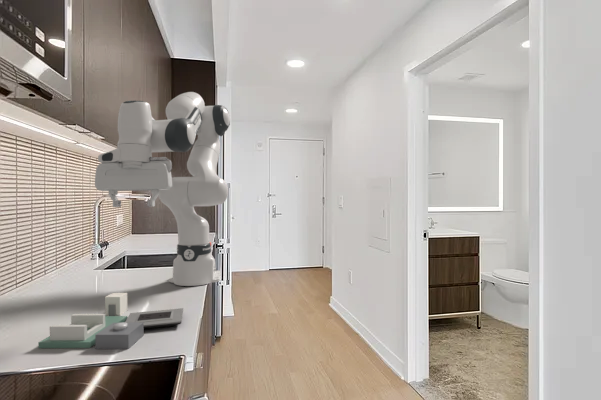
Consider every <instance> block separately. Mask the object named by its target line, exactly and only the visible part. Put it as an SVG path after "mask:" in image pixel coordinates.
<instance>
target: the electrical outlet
mask: <svg viewBox="0 0 601 400" xmlns="http://www.w3.org/2000/svg"><path fill="white" fill-rule="evenodd" d="M183 314H184V307H181V308H172V309H171V308H170V309H160V310H159V309H158V310H150V311H136V312H130V313H129V315H127V320H126V321H125V323H133V322H143V327H144V329H152V328H159V327H170V326H179V325H181V324H182V322H183Z"/></svg>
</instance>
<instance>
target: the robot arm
mask: <svg viewBox="0 0 601 400" xmlns="http://www.w3.org/2000/svg"><path fill="white" fill-rule="evenodd" d="M205 104H206V103H205V101H204V99H203V97H202V96H201V95H200V94H199V93H197V92H196V91H195V92H194V91H187V92H183V93H180V94H178V95H176V96H175V97H174V98H172V99H171V100H170V101H169V102H168V103H167V105H166V106H165V107H166V108H165V116H166V118H167V119H158V120H156V119H155V118H154V117H153V115H152V110H151V109H152V108H151V104H150V103H149V102H147V101H144V100H136V99H135V100H127V101H123V102H122V103H121V104H120V106H119V109H118V117H117V134H118V141H117V147H116V148H115V149H113V150H110V151H107V152H104V153H101V154H99V155H98V157H97V161H98V162H99V164H98V165H97V166H96V169H95V174H94V175H95V176H94V187H95V188H96V190H98V191H101V192H108V195H109V198H110V199H111V201H112V207H113V208H121V207H122V200H119V199H118V197H117V195H118V192H120V191H121V192H126V191H127V192H128V191H130V192H132V191H135V192H136V191H137V192H138V191H150V194H152V196H151V197H150V199H147V200H146V203H147V204H146V207H150V208H151V207H152V208H153V207H155V206H156V200H157V198H158V199H159V200H160V202H161V203H162V204H163V205H164V206H165V207H167V208H168V209H169V210H170V211H171V213H172V215H173V216H174V219H175V222H176V226H177V240H178V242H177V245H176V254H177V256H176V257H175V258H174V259H173V263H172V277H170V278H169V279H168V282H169V283H171V284H174V285H176V286H183V287H184V286H185V287H193V286H194V287H195V286H203V285H207V284H211V283H218V282H219V283H220V282H221V278H222V277H221V276H222V271H221V270H217V268H216V259H215V258H214V256H213V255H212V242H211V241H210V225H209V222H208V220H207V219H206V218H205V217H202V216H201V215H199V214H197V212H196V210H195V207H213V206H219V205H222V204H224V203H225V202H226V200H227V198H228V196H229V187H228V184H227V183H226V181H225V180H224V179H223V178H222V177H220V176H219V175H218V174H217V166H218V161H219V159H220V153H221V152H220V151H221V142H220V139H219V137H223V136H224V135H225V134H226V133H225V132H226V131H228V129H229V127H230V125H231V115H230V112H229V111H228V108H227V107H225V105H222V104H221V105H220V104H214V105H205ZM196 136H197V139H196ZM191 148H192V149H191ZM189 151H190V154H189V156H188V159H187V161H186V169H187V171H188V173H189V174H190V175H191V176H174V177H172V170H173V162H172V160H171V159H169V158H168V157H166V156H160V157H158V156H153V153H168V152H169V153H170V152H173V153H174V152H176V153H187V152H189Z"/></svg>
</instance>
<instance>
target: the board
mask: <svg viewBox="0 0 601 400" xmlns="http://www.w3.org/2000/svg"><path fill="white" fill-rule="evenodd" d="M127 318H128V315H116V316H109V315H107V316H105V313H73V314H71V315H70V322H71V323H70V324H52V325H50V326H49V336H48V337H46V338H44V339H42V340H40V341H38V345H37V346H38V347H37V348H38V349H89V348H92V347H93V346H94V345H95V346H96V344H95V335H96V334H97V333H99V332H100V331H102V330H103V329H105V328H106V327H107V326H109V325H110V324H112V323H122V322H125V321H126V320H127Z"/></svg>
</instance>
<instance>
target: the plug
mask: <svg viewBox="0 0 601 400" xmlns="http://www.w3.org/2000/svg"><path fill="white" fill-rule="evenodd" d="M104 308H105V310H104V314H105V316H123V314H125V313H126V312H127V311H128V292H112V293H110V294H108V295H106V296H105V297H104Z"/></svg>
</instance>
